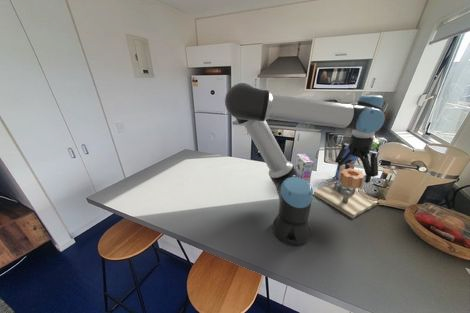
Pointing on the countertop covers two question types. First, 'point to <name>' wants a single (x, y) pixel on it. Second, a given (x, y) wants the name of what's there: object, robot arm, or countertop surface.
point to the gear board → (345, 207)
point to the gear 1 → (351, 178)
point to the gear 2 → (343, 188)
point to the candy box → (304, 167)
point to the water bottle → (347, 163)
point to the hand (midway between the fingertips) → (350, 182)
